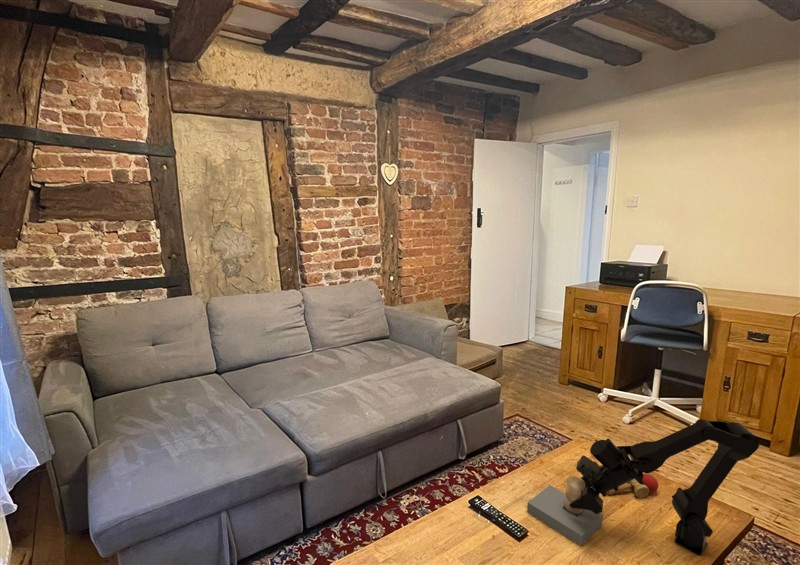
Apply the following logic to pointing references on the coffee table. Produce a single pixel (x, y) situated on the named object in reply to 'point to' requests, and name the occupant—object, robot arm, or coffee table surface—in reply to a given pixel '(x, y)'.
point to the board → (563, 516)
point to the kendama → (639, 486)
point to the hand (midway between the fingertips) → (572, 496)
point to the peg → (573, 493)
